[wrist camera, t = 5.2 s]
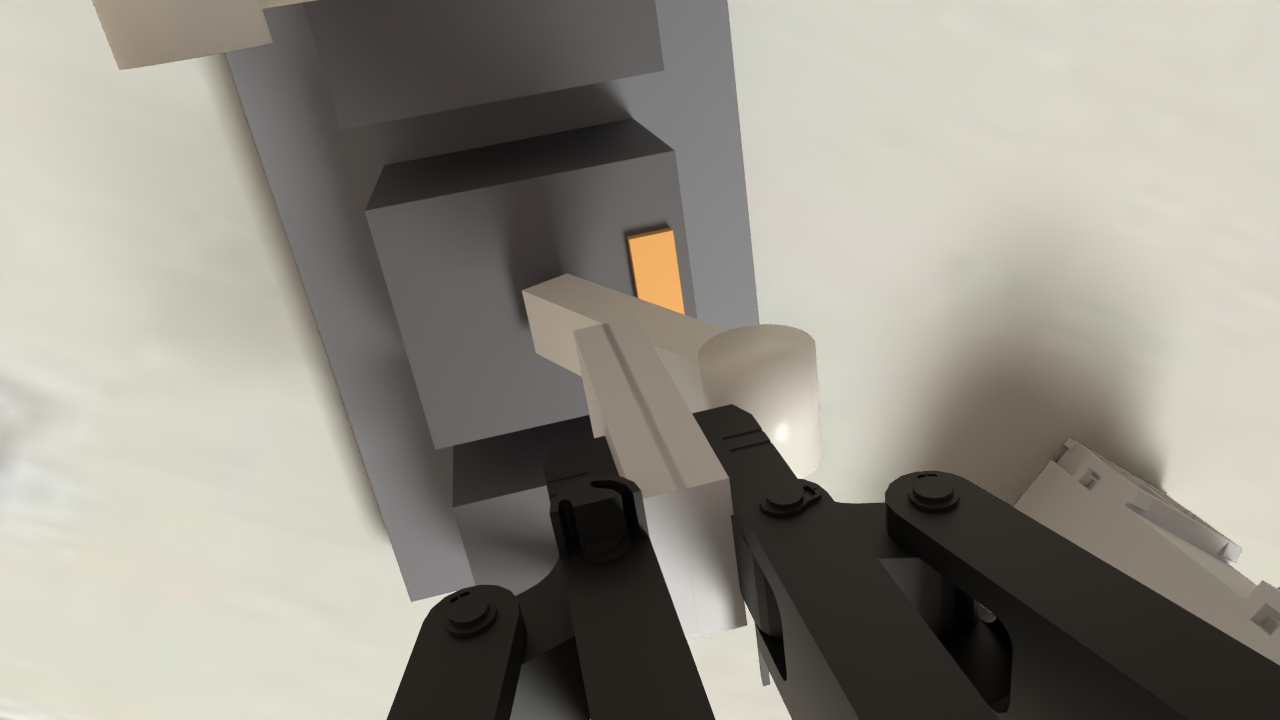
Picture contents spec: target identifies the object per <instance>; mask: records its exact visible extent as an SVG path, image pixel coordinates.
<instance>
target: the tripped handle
mask: <svg viewBox="0 0 1280 720" xmlns="http://www.w3.org/2000/svg"><path fill="white" fill-rule="evenodd" d="M522 293H523V298H524V302H525V307H526V311H527V316H528V320H529V325H530V329H531V333H532V338H533V342H534V347H535V351H536V353H537V354H539V355H541V356H543V357H545V358H546V359H548V360H550V361H552V362H554V363H556V364H558V365H560V366H562V367H564V368H566V369H568V370H570V371H572V372H574V373H576V374H577V375H579V376H581V377H582V375H581V370H580V365H579V360H578V355H577V350H576V345H575V340H574V335H573V331H574V330H578V329H583V328H587V327H592V326H596V325H601V324H606V323H611V322H615V321H620V320H624V319H629V318H633V317H637V319H638V321H639V322H640V324H641V326H642V328H643V329H644V331H645V333H646V335H647V336H648V338H649V340H650V342H651V343H652V345H653V347H654V348H655V350H656V352H657V354H658V355H659V357H660V359H661V361H662V362H663V364H664V366H665V368H666V369H667V371H668V373H669V375H670V376H671V378H672V380H673V381H674V383H675V385H676V387H677V388H678V390H679V392H680V394H681V395H682V397H683V399H684V401H685V402H686V404H687V406H688V408H689V409H690V411H691V413H696V412H700V411H704V410H709V409H713V408H717V407H721V406H726V405H730V404H733V405H735V406H737V407H739V408H741V409H743V410H745V411H747V412H749V413H750V414H752V415H753V417H754V418H755V419H756V421H757V422H758V424H759V425H760V426H761V428H762V431H764V432H765V433H766V435H767V436H768V438H769V439H770V441H771V443H773V445H774V446H775V447H776V449H777V450H778V452H779V453H780V454H781V456H782V457H783V459H784V460H785V461H786V463H787V464H788V466H789V467H790V468H791V470H792V471H793V473H794V474H795V475H796V477H797V478H798V479H803V478H805V477H807V476H809V475H810V474H811V473H813V472H814V471H815V470H816V469H817V468H818V467H819V465H820V463H821V461H822V458H823V449H822V434H821V420H820V406H819V391H818V377H817V363H816V348H815V341H814V339H813V338H812V337H811V336H810V335H809V334H808V333H806V332H804V331H802V330H800V329H797V328H794V327H789V326H784V325H772V324H764V325H751V326H744V327H739V328H735V329H731V330H727V329H724V328H721V327H718V326H715V325H712V324H710V323H707V322H704V321H701V320H698V319H695V318H693V317H690V316H687V315H684V314H681V313H678V312H676V311H673V310H670V309H667V308H664V307H661V306H659V305H656V304H653V303H650V302H647V301H644V300H641V299H639V298H636V297H633V296H630V295H627V294H624V293H622V292H619V291H616V290H613V289H610V288H607V287H605V286H602V285H599V284H596V283H593V282H590V281H588V280H585V279H582V278H579V277H576V276H573V275H571V274H568V273H567V274H564V275H561V276H559V277H556V278H553V279H551V280H548V281H545V282H543V283H540V284H537V285H535V286H532V287H530V288H527V289H524V290H522Z"/></svg>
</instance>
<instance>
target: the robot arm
mask: <svg viewBox="0 0 1280 720" xmlns="http://www.w3.org/2000/svg"><path fill="white" fill-rule="evenodd" d="M573 335H574V340H575V345H576V350H577V355H578V360H579V365H580V370H581V375H582V380H583V385H584V390H585V395H586V400H587V405H588V410H589V415H590V420H591V425H592V430H593V435H594V438H593V439H589V440H585V441H580V442H576V443H572V444H568V445H563V446H559V447H555V448H551V450H550V452H549V454H548V456H547V458H546V460H545V462H544V464H543V470H544V475H545V480H546V484H547V490H548V495H549V500H550V511H549V514H550V518H551V523H552V527H553V531H554V535H555V540H556V544H557V548H558V552H559V557H558V560H557V562H556V565H555V566H554V568H553V569H552V570H551V572H550V573H549V574H548V575H547V576H546V577H545V578H544V579H543V580H542V581H540V582H539V583H538V584H536V585H534V586H533V587H531V588H530V589H528V590H526V591H524V592H522V593H520V594H518V595H516V596H515V595H514V594H513V593H512V592H511V591H510V590H508V589H506V588H503V587H501V586H498V585H476V586H472V587H467V588H463V589H461V590H459V591H457V592H455V593H453V594H450V595H448V596H446V597H445V598H444V599H442V600H441V601H440V602H439V603H438V604H436V605H435V606H434V607H433V608H432V609H431V610H430V612H429V614H428V615H427V617H426V618H425V620H424V622H423V624H422V627H421V629H420V632H419V635H418V637H417V640H416V643H415V645H414V648H413V651H412V653H411V656H410V659H409V661H408V664H407V667H406V669H405V672H404V675H403V677H402V680H401V683H400V685H399V688H398V691H397V694H396V696H395V699H394V702H393V704H392V707H391V710H390V712H389V715H388V718H387V720H590V719H591V720H715V717H714V714H713V712H712V709H711V706H710V703H709V701H708V698H707V695H706V692H705V690H704V687H703V684H702V681H701V678H700V676H699V673H698V670H697V667H696V665H695V662H694V659H693V656H692V654H691V651H690V648H689V645H688V643H687V641H689V640H693V639H697V638H701V637H705V636H709V635H713V634H716V633H720V632H724V631H727V630H731V629H735V628H739V627H742V626H746V625H747V620H746V611H745V603H746V605H747V607H748V609H749V611H750V613H751V615H752V617H753V619H754V621H755V628H756V637H757V645H758V654H759V662H760V671H761V678H762V683H763V686H766V685H770V679H769V671H770V674H771V676H772V678H773V680H774V682H775V684H776V686H777V688H778V690H779V693H780V695H781V697H782V699H783V701H784V703H785V705H786V707H787V709H788V712H789V714H790V716H791V718H792V720H1280V665H1278V664H1277V663H1275V662H1273V661H1272V660H1270V659H1268V658H1266V657H1265V656H1263V655H1261V654H1260V653H1258V652H1256V651H1255V650H1253V649H1251V648H1250V647H1248V646H1246V645H1245V644H1243V643H1241V642H1240V641H1238V640H1236V639H1234V638H1233V637H1231V636H1229V635H1228V634H1226V633H1224V632H1223V631H1221V630H1219V629H1218V628H1216V627H1214V626H1213V625H1211V624H1209V623H1208V622H1206V621H1204V620H1202V619H1201V618H1199V617H1197V616H1196V615H1194V614H1192V613H1191V612H1189V611H1187V610H1186V609H1184V608H1182V607H1181V606H1179V605H1177V604H1176V603H1174V602H1172V601H1170V600H1169V599H1167V598H1165V597H1164V596H1162V595H1160V594H1159V593H1157V592H1155V591H1154V590H1152V589H1150V588H1149V587H1147V586H1145V585H1144V584H1142V583H1140V582H1138V581H1137V580H1135V579H1133V578H1132V577H1130V576H1128V575H1127V574H1125V573H1123V572H1122V571H1120V570H1118V569H1117V568H1115V567H1113V566H1112V565H1110V564H1108V563H1106V562H1105V561H1103V560H1101V559H1100V558H1098V557H1096V556H1095V555H1093V554H1091V553H1090V552H1088V551H1086V550H1085V549H1083V548H1081V547H1080V546H1078V545H1076V544H1074V543H1073V542H1071V541H1069V540H1068V539H1066V538H1064V537H1063V536H1061V535H1059V534H1058V533H1056V532H1054V531H1053V530H1051V529H1049V528H1048V527H1046V526H1044V525H1042V524H1041V523H1039V522H1037V521H1036V520H1034V519H1032V518H1031V517H1029V516H1027V515H1026V514H1024V513H1022V512H1021V511H1019V510H1017V509H1016V508H1014V507H1012V506H1010V505H1009V504H1007V503H1005V502H1004V501H1002V500H1000V499H999V498H997V497H995V496H994V495H992V494H990V493H989V492H987V491H985V490H984V489H982V488H980V487H978V486H977V485H975V484H973V483H972V482H970V481H968V480H966V479H964V478H961V477H959V476H957V475H954V474H950V473H944V472H938V471H922V472H914V473H910V474H907V475H903V476H901V477H899V478H898V479H896V480H895V481H893V482H892V483H890V485H889V487H888V489H887V490H886V492H885V503H861V504H853V503H839V502H834V500H833V499H832V498H831V496H830V495H829V494H828V492H826V491H825V490H824V489H823V488H822V487H820V486H819V485H818V484H816V483H813V482H810V481H807V480H804V479H798V478H797V477H796V475H795V474H794V473H793V471H792V470H791V468H790V467H789V466H788V464H787V463H786V461H785V460H784V459H783V457H782V456H781V454H780V453H779V452H778V450H777V449H776V447H775V446H774V445H773V443H771V441H770V439H769V438H768V436H767V435H766V433H765V432H764V431H762V428H761V426H760V425H759V424H758V422H757V421H756V419H755V418H754V417H753V415H752V414H750V413H749V412H747V411H745V410H743V409H741V408H739V407H737V406H735V405H733V404H730V405H726V406H721V407H717V408H713V409H709V410H704V411H700V412H696V413H691V411H690V409H689V408H688V406H687V404H686V402H685V401H684V399H683V397H682V395H681V394H680V392H679V390H678V388H677V387H676V385H675V383H674V381H673V380H672V378H671V376H670V375H669V373H668V371H667V369H666V368H665V366H664V364H663V362H662V361H661V359H660V357H659V355H658V354H657V352H656V350H655V348H654V347H653V345H652V343H651V342H650V340H649V338H648V336H647V335H646V333H645V331H644V329H643V328H642V326H641V324H640V322H639V321H638V319H637V317H633V318H629V319H624V320H620V321H615V322H611V323H606V324H601V325H596V326H592V327H587V328H583V329H578V330H574V331H573ZM744 601H745V603H744ZM980 604H981V605H983V606H984V607H985V608H987V609H988V610H989V611H991V612H992V613H993V614H994V615H993V614H992V613H990V612H988V611H987V610H986V609H984V608H983V607H982V606H980Z"/></svg>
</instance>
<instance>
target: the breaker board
mask: <svg viewBox="0 0 1280 720" xmlns="http://www.w3.org/2000/svg"><path fill="white" fill-rule="evenodd" d="M92 2H93V4H94V7H95V9H96V12H97V14H98V17H99V20H100V22H101V25H102V27H103V30H104V32H105V35H106V37H107V40H108V42H109V45H110V48H111V50H112V53H113V55H114V58H115V60H116V63H117V65H118V68H119V70H122V69H130V68H137V67H144V66H150V65H156V64H163V63H169V62H174V61H180V60H186V59H192V58H197V57H203V56H209V55H214V54H219V53H224V54H225V56H226V59H227V62H228V65H229V68H230V71H231V74H232V77H233V80H234V83H235V86H236V89H237V92H238V95H239V98H240V101H241V103H242V106H243V109H244V112H245V115H246V118H247V121H248V124H249V127H250V130H251V133H252V136H253V139H254V142H255V145H256V148H257V151H258V153H259V156H260V159H261V162H262V165H263V168H264V171H265V174H266V177H267V180H268V183H269V186H270V189H271V192H272V195H273V198H274V200H275V203H276V206H277V209H278V212H279V215H280V218H281V221H282V224H283V227H284V230H285V233H286V236H287V239H288V242H289V245H290V247H291V250H292V253H293V256H294V259H295V262H296V265H297V268H298V271H299V274H300V277H301V280H302V283H303V286H304V289H305V292H306V295H307V297H308V300H309V303H310V306H311V309H312V312H313V315H314V318H315V321H316V324H317V327H318V330H319V333H320V336H321V339H322V342H323V344H324V347H325V350H326V353H327V356H328V359H329V362H330V365H331V368H332V371H333V374H334V377H335V380H336V383H337V386H338V389H339V392H340V394H341V397H342V400H343V403H344V406H345V409H346V412H347V415H348V418H349V421H350V424H351V427H352V430H353V433H354V436H355V439H356V441H357V444H358V447H359V450H360V453H361V456H362V459H363V462H364V465H365V468H366V471H367V474H368V477H369V480H370V483H371V486H372V488H373V491H374V494H375V497H376V500H377V503H378V506H379V509H380V512H381V515H382V518H383V521H384V524H385V527H386V530H387V533H388V536H389V538H390V541H391V544H392V547H393V550H394V553H395V556H396V559H397V562H398V565H399V568H400V571H401V574H402V577H403V580H404V583H405V585H406V588H407V591H408V594H409V597H410V600H411V602H413V601H417V600H421V599H425V598H429V597H433V596H437V595H441V594H445V593H449V592H453V591H458V590H461V589H463V588H467V587H472V586H476V585H498V586H501V587H503V588H506V589H508V590H510V591H511V592H512V593H513V594H514V595H515V596H516V595H518V594H520V593H522V592H524V591H526V590H528V589H530V588H531V587H533V586H534V585H536V584H538V583H539V582H540V581H542V580H543V579H544V578H545V577H546V576H547V575H548V574H549V573H550V572H551V570H552V569H553V568H554V566H555V565H556V562H557V560H558V557H559V552H558V548H557V544H556V540H555V535H554V531H553V527H552V523H551V518H550V514H549V511H550V500H549V495H548V490H547V484H546V480H545V475H544V470H543V464H544V462H545V460H546V458H547V456H548V454H549V452H550V450H551V448H555V447H559V446H563V445H568V444H572V443H576V442H580V441H585V440H589V439H593V438H594V435H593V430H592V425H591V420H590V415H589V410H588V405H587V400H586V395H585V390H584V385H583V380H582V377H581V376H579V375H577V374H576V373H574V372H572V371H570V370H568V369H566V368H564V367H562V366H560V365H558V364H556V363H554V362H552V361H550V360H548V359H546V358H545V357H543V356H541V355H539V354H537V353H536V351H535V347H534V342H533V338H532V333H531V329H530V325H529V320H528V316H527V311H526V307H525V302H524V298H523V293H522V290H524V289H527V288H530V287H532V286H535V285H537V284H540V283H543V282H545V281H548V280H551V279H553V278H556V277H559V276H561V275H564V274H567V273H568V274H571V275H573V276H576V277H579V278H582V279H585V280H588V281H590V282H593V283H596V284H599V285H602V286H605V287H607V288H610V289H613V290H616V291H619V292H622V293H624V294H627V295H630V296H633V297H636V298H639V299H641V300H644V301H647V302H650V303H653V304H656V305H659V306H661V307H664V308H667V309H670V310H673V311H676V312H678V313H681V314H684V315H687V316H690V317H693V318H695V319H698V320H701V321H704V322H707V323H710V324H712V325H715V326H718V327H721V328H724V329H727V330H731V329H735V328H739V327H744V326H751V325H759V315H758V305H757V295H756V285H755V275H754V265H753V255H752V244H751V234H750V224H749V214H748V204H747V194H746V184H745V174H744V164H743V154H742V144H741V134H740V124H739V114H738V104H737V94H736V84H735V73H734V63H733V53H732V43H731V33H730V23H729V13H728V3H727V0H92Z"/></svg>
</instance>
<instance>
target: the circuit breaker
mask: <svg viewBox="0 0 1280 720" xmlns="http://www.w3.org/2000/svg"><path fill="white" fill-rule="evenodd" d="M1063 445H1065V446H1066V447H1068V449H1067V450H1066V452H1065V453H1064V454H1063V455H1062V456H1061V458H1060V459H1059V460H1058V461H1057V463H1056V462H1055V461H1053V460H1050V462H1049V463H1048V464H1047V465H1046V467H1045V468H1044V469H1043V470H1042V472H1041V473H1040V474H1039V475H1038V477H1037V478H1036V479H1035V480H1034V482H1033V483H1032V484H1031V485H1030V487H1029V488H1028V489H1027V490H1026V491H1025V493H1024V494H1023V495H1022V496H1021V498H1020V499H1019V500H1018V501H1017V503H1016V504H1015V505H1014V506H1013V507H1014V508H1016V509H1017V510H1019V511H1021V512H1022V513H1024V514H1026V515H1027V516H1029V517H1031V518H1032V519H1034V520H1036V521H1037V522H1039V523H1041V524H1042V525H1044V526H1046V527H1048V528H1049V529H1051V530H1053V531H1054V532H1056V533H1058V534H1059V535H1061V536H1063V537H1064V538H1066V539H1068V540H1069V541H1071V542H1073V543H1074V544H1076V545H1078V546H1080V547H1081V548H1083V549H1085V550H1086V551H1088V552H1090V553H1091V554H1093V555H1095V556H1096V557H1098V558H1100V559H1101V560H1103V561H1105V562H1106V563H1108V564H1110V565H1112V566H1113V567H1115V568H1117V569H1118V570H1120V571H1122V572H1123V573H1125V574H1127V575H1128V576H1130V577H1132V578H1133V579H1135V580H1137V581H1138V582H1140V583H1142V584H1144V585H1145V586H1147V587H1149V588H1150V589H1152V590H1154V591H1155V592H1157V593H1159V594H1160V595H1162V596H1164V597H1165V598H1167V599H1169V600H1170V601H1172V602H1174V603H1176V604H1177V605H1179V606H1181V607H1182V608H1184V609H1186V610H1187V611H1189V612H1191V613H1192V614H1194V615H1196V616H1197V617H1199V618H1201V619H1202V620H1204V621H1206V622H1208V623H1209V624H1211V625H1213V626H1214V627H1216V628H1218V629H1219V630H1221V631H1223V632H1224V633H1226V634H1228V635H1229V636H1231V637H1233V638H1234V639H1236V640H1238V641H1240V642H1241V643H1243V644H1245V645H1246V646H1248V647H1250V648H1251V649H1253V650H1255V651H1256V652H1258V653H1260V654H1261V655H1263V656H1265V657H1266V658H1268V659H1270V660H1272V661H1273V662H1275V663H1277V664H1278V665H1280V587H1278V588H1275V587H1273V586H1272V585H1270V584H1268V583H1266V582H1265V581H1263V580H1262V582H1261V583H1260V584H1259V585H1258V586H1257V585H1256V584H1254V583H1253V582H1252V581H1250V580H1249V579H1248V578H1246V577H1245V576H1244V575H1242V574H1241V573H1240V572H1238V571H1237V570H1236V569H1234V568H1233V567H1232V566H1230V565H1229V563H1230V562H1235V563H1236V562H1237V560H1238V558H1239V555H1240V553H1241V551H1242V548H1241V547H1239V546H1238V545H1236V544H1235V543H1234V542H1232V541H1231V540H1229V539H1228V538H1227V537H1225V536H1224V535H1222V534H1221V533H1220V532H1218V531H1217V530H1216V529H1214V528H1213V527H1211V526H1210V525H1209V524H1207V523H1206V522H1204V521H1203V520H1202V519H1200V518H1199V517H1197V516H1196V515H1195V514H1193V513H1192V512H1190V511H1189V510H1187V509H1185V508H1184V507H1183V506H1181V505H1180V504H1178V503H1177V502H1176V501H1174V500H1173V499H1172V498H1171V497H1170V496H1168V495H1167V494H1165V493H1163V492H1162V491H1160V490H1158V489H1157V488H1155V487H1153V486H1152V485H1150V484H1148V483H1146V482H1145V481H1143V480H1141V479H1140V478H1138V477H1136V476H1134V475H1133V474H1131V473H1129V472H1128V471H1126V470H1124V469H1123V468H1121V467H1119V466H1117V465H1116V464H1114V463H1112V462H1111V461H1109V460H1107V459H1106V458H1104V457H1102V456H1100V455H1099V454H1097V453H1095V452H1094V451H1092V450H1090V449H1089V448H1087V447H1085V446H1083V445H1082V444H1080V443H1078V442H1077V441H1075V440H1073V439H1071V438H1070V437H1069V438H1068V439H1067V441H1066V442H1065V443H1064V444H1063Z"/></svg>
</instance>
